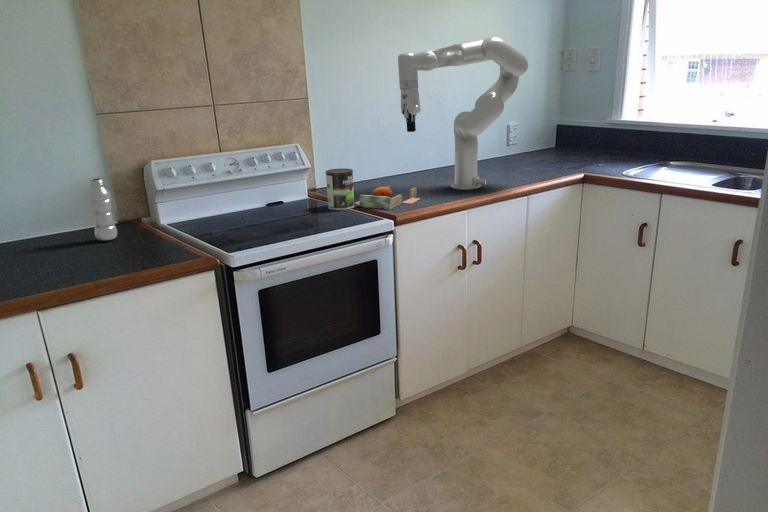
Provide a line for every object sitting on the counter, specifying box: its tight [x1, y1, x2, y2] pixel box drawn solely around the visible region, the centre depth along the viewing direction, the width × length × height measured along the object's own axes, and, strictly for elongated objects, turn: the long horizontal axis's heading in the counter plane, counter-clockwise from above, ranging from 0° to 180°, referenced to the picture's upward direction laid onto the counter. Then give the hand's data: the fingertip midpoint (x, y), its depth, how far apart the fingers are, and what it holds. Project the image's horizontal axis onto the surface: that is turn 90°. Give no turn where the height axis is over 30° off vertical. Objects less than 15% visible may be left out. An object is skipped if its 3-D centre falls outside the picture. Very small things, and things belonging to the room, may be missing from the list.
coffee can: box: [325, 168, 355, 211], centre depth 223 cm, size 10×10×14 cm
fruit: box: [370, 186, 393, 198], centre depth 225 cm, size 8×8×8 cm
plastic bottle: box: [87, 177, 118, 242], centre depth 189 cm, size 6×7×20 cm
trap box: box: [358, 185, 418, 210], centre depth 231 cm, size 13×24×4 cm, turn 152°
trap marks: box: [354, 197, 422, 205], centre depth 231 cm, size 21×16×1 cm
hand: (411, 131), depth 242 cm, fingers closed
